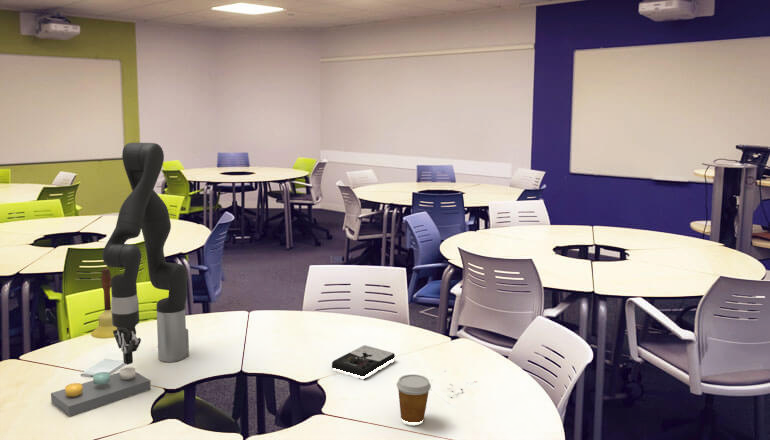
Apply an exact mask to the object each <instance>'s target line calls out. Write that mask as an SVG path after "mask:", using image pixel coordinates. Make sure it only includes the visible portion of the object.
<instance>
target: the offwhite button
mask: <svg viewBox="0 0 770 440" xmlns="http://www.w3.org/2000/svg"><path fill="white" fill-rule="evenodd" d="M119 372H120V378H121V379H131V378H134V377H135V376H136V372H137V371H136V368H135V367H131V366H130V367H128V366H127V367H124V368H123V367H122V368H120V369H119Z"/></svg>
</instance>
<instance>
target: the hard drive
mask: <svg viewBox="0 0 770 440" xmlns="http://www.w3.org/2000/svg"><path fill="white" fill-rule="evenodd" d="M125 365H126V364H125V363H124V360H120V359H110V358H104V359H103V360H100V362H97V363H96V364H95V365H93V366H91V367H89V368H88V369H86V370H85V371H83V372H81V373H80V374H79V375H80V377H83V378H92V379H93V375H94V374H96V373H100V372H108V373H109V374H110V375H113V374H115V372H117V371H119V370H121V369H122V368H123V367H124V366H125ZM126 366H127V365H126Z"/></svg>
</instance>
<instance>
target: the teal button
mask: <svg viewBox="0 0 770 440" xmlns="http://www.w3.org/2000/svg"><path fill="white" fill-rule="evenodd" d="M110 375H111V374H109V373H108V372H100V373H96V374H94V375H93V378H92V381H93V382H94V384H97V385H101V384H106V383H108V382H109V381H110Z"/></svg>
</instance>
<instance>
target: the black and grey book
mask: <svg viewBox="0 0 770 440" xmlns="http://www.w3.org/2000/svg"><path fill="white" fill-rule="evenodd" d="M395 356H396V355H395V353H394V352H391V351H387V350H384V349H380V348H377V347H373V346H370V345H362V346H360V347H357V348H356V349H354V350H352V351H350V352H348V353H346V354H344V355H342V356H339V357H338V358H336V359H334V360H333V361H332V362H331V369H332V368H336V369H340V370H343V371H346V372H350V373H353V374H357V375H360V376H365V375H366V374H368V373H369V372H371V371H373V370H374V369H376V368H377V367H379V366H381V365H383V364H384V363H386V362H387V361H389V360H391V359H393V358H394V357H395ZM395 358H396V357H395Z"/></svg>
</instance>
